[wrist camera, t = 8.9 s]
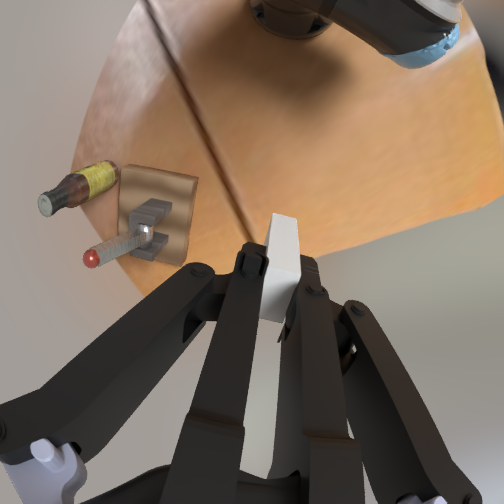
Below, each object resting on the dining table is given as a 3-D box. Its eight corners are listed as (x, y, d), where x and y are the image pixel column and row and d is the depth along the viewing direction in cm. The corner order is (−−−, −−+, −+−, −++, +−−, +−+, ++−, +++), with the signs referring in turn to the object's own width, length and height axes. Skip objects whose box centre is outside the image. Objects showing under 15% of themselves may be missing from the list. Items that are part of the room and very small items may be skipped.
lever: (137, 208, 50) (65, 235, 36) (163, 220, 48) (88, 252, 34) (135, 229, 52) (67, 259, 38) (161, 242, 50) (91, 278, 36)
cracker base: (130, 164, 51) (98, 177, 41) (198, 177, 51) (177, 193, 41) (125, 241, 60) (99, 266, 49) (186, 258, 60) (167, 288, 49)
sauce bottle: (107, 153, 50) (42, 176, 33) (125, 174, 52) (63, 204, 35) (92, 174, 53) (29, 203, 35) (108, 194, 55) (48, 229, 37)
